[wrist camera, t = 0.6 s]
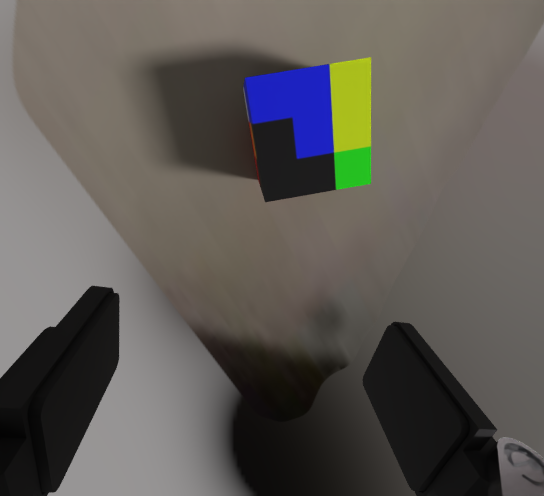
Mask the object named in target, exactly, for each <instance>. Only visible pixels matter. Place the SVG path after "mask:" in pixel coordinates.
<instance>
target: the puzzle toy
mask: <svg viewBox="0 0 544 496" xmlns="http://www.w3.org/2000/svg"><path fill="white" fill-rule="evenodd" d="M243 92H244V98H245V104H246V110H247V116H248V121H249V127H250V133H251V139H252V145H253V151H254V157H255V163H256V169H257V175H258V180H259V184H260V187H261V190H262V193H263V196H264V200H265V202H269V201H275V200H281V199H286V198H292V197H298V196H303V195H309V194H315V193H320V192H326V191H332V190H337V189H343V188H349V187H354V186H360V185H366V184H371V57H370V58H364V59H358V60H352V61H345V62H339V63H333V64H327V65H320V66H314V67H308V68H302V69H296V70H289V71H283V72H277V73H271V74H265V75H258V76H252V77H246V78H245V80H244V85H243Z"/></svg>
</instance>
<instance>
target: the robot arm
mask: <svg viewBox="0 0 544 496" xmlns="http://www.w3.org/2000/svg"><path fill="white" fill-rule="evenodd" d="M118 360H119V295H118V294H117V293H114V291H113V289H112V288H107V287H99V286H91V287H90V288H89V289H88V290H87V291H86V292H85V293H84V294H83V296H82V297H81V298H80V299H79V300H78V301H77V303H76V304H75V305H74V306H73V307H72V308H71V310H70V311H69V312H68V313H67V314H66V316H65V317H64V318H63V319H62V320H61V321H60V322H59V324H58V325H57V326H56V327H48V328H46V329H45V330H44V331H43V332H42V333H41V334H40V335H39V336H38V337H37V338H36V339H35V340H34V342H33V343H32V344H31V345H30V346H29V347H28V348H27V349H26V350H25V352H24V353H23V354H22V355H21V356H20V357H19V358H18V359H17V360H16V362H15V363H14V364H13V365H12V366H11V367H10V368H9V369H8V371H7V372H6V373H5V374H4V375H3V376H2V377H1V378H0V496H47V495H48V493H49V492H56V491H57V489H58V488H59V486H60V484H61V482H62V480H63V478H64V476H65V474H66V472H67V470H68V468H69V466H70V464H71V462H72V460H73V457H74V455H75V453H76V451H77V449H78V447H79V445H80V443H81V441H82V439H83V437H84V435H85V432H86V430H87V428H88V426H89V424H90V422H91V420H92V418H93V416H94V414H95V412H96V410H97V408H98V405H99V403H100V401H101V399H102V397H103V395H104V393H105V391H106V389H107V387H108V385H109V383H110V381H111V378H112V376H113V374H114V372H115V370H116V368H117V364H118ZM363 386H364V388H365V390H366V393H367V395H368V397H369V399H370V401H371V404H372V406H373V408H374V410H375V412H376V415H377V417H378V419H379V421H380V423H381V426H382V428H383V430H384V432H385V434H386V437H387V439H388V441H389V443H390V445H391V448H392V449H393V452H394V454H395V456H396V458H397V460H398V463H399V465H400V467H401V469H402V472H403V474H404V476H405V478H406V481H407V483H408V485H409V486H410V488H411V489H412V490H413V491H415V493H416V495H417V496H544V458H542V457H541V456H540V455H539V454H538V453H537V452H535V451H534V450H533V449H531V448H530V447H528V446H527V445H525V444H524V443H522V442H519V441H517V440H515V439H512V438H508V437H505V438H501V439H499V440H498V441H497V442H496V441H495V440H494V439H493V437H492V436H493V435H494V433H495V432H496V431H497V429H496V428H495V426H494V425H493V424H492V423H491V421H490V420H489V419H488V418H487V417H486V415H485V414H484V413H483V411H482V410H481V409H480V408H479V407H478V405H477V404H476V403H475V402H474V401H473V399H472V398H471V397H470V396H469V394H468V393H467V392H466V391H465V389H464V388H463V387H462V386H461V384H460V383H459V382H458V381H457V380H456V378H455V377H454V376H453V375H452V373H451V372H450V371H449V370H448V369H447V367H446V366H445V365H444V364H443V362H442V361H441V360H440V359H439V357H438V356H437V355H436V354H435V353H434V351H433V350H432V349H431V348H430V346H429V345H428V344H427V343H426V342H425V340H424V339H423V338H422V337H421V335H420V334H419V333H418V332H417V330H416V329H415V328H414V327H413V326H412V325H411V324H409V323H401V322H393V323H392V324H391V325H389V326H388V327H387V328H386V330H385V332H384V334H383V336H382V339H381V341H380V343H379V345H378V347H377V349H376V351H375V353H374V355H373V357H372V360H371V362H370V364H369V366H368V368H367V370H366V372H365V374H364V376H363Z"/></svg>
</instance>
